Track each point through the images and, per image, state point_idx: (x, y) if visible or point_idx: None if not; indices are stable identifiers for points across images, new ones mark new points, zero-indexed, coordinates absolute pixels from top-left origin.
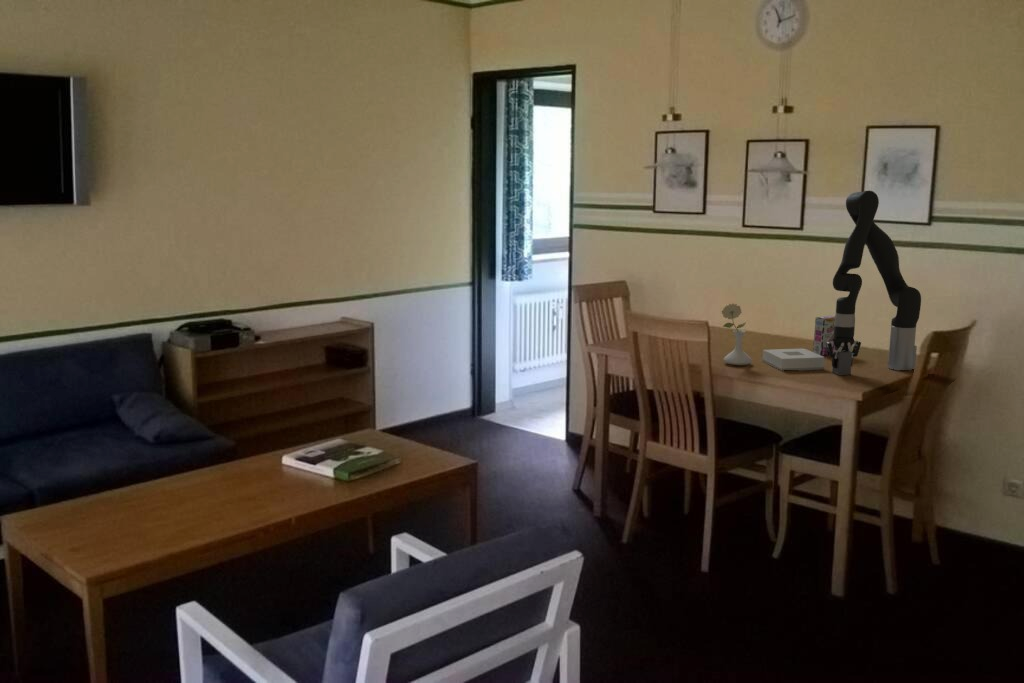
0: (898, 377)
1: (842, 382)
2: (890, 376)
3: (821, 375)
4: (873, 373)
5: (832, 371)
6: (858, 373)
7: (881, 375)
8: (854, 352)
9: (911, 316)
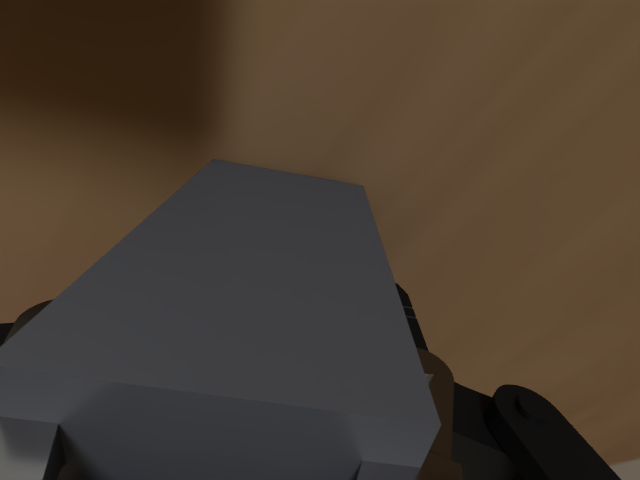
0: (623, 455)
1: None
2: (605, 423)
3: (30, 228)
4: (592, 315)
5: (210, 165)
6: (463, 273)
7: (577, 384)
8: (560, 465)
9: None
